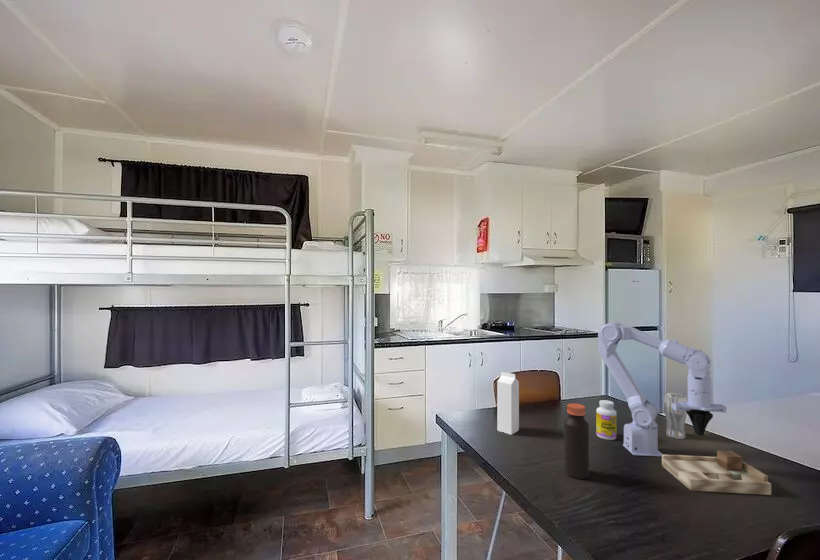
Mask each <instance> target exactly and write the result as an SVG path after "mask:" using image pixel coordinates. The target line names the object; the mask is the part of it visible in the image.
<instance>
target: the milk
mask: <svg viewBox="0 0 820 560" xmlns="http://www.w3.org/2000/svg"><path fill="white" fill-rule="evenodd" d="M496 386H497V387H496V388H497V389H496V390H497V393H496V394H497V397H496V398H497V399H496V400H497V403H496V404H497V407H496V408H497V410H496V411H497V413H496V414H497V415H496V416H497V420H496V421H497V422H496V425H497V427H496V430H497V431H498V432H500V433H503V432H504V434H507V435H510V436H512V435H513V434H514V435H515V434H516V433H517V432H518V431H519V430H520V406H519V405H520V390H519V389H520V381H519V380H518V379H517V378H516V374H515V373H512V372H511V373H510V372H505V371H501V372H500V377H499V378H498V379H497V385H496Z"/></svg>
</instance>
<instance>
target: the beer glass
mask: <svg viewBox="0 0 820 560" xmlns="http://www.w3.org/2000/svg"><path fill="white" fill-rule="evenodd" d="M663 399H664V400H663V407H664V408H663V409H664V415H665V420H666V429H665V435H666V436H668V437H669V438H673V439H677V440H684V439H686V437H687V436H686V431H685V426H686V425H685V424H686V420H687V415H688V414H687V412H686V411H684V410H679V411H675V410H674V409H672V403H681V402H688V399H687V395H684V394H682V393H678V392H677V393H676V392H665V393H664V397H663Z"/></svg>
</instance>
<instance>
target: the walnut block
mask: <svg viewBox="0 0 820 560" xmlns="http://www.w3.org/2000/svg"><path fill="white" fill-rule="evenodd" d="M716 457H717V464H718V465H720V466H721V467H723V468H724V469H726V470H727V471H742V461H743V457H742V456H741V455H739V454H737V453H735V452H734V451H732V450H716Z"/></svg>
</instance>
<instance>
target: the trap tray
mask: <svg viewBox="0 0 820 560" xmlns="http://www.w3.org/2000/svg"><path fill="white" fill-rule="evenodd" d="M661 466H662V467H663V468H664V469H665V470H667V471H668V472H669V473H670V474H671V475H672V476H673V477H674V478H675V479H677V481H679V482H680V483H681V484H683V485H684V486H685V487H686V488H687V489H688V490H690V491H694V492H695V491H696V492H711V493H728V494H729V493H730V494H732V493H733V494H744V495H745V494H748V495H763V496H764V495H765V496H766V495H767V496H772V482H769V476H768V475H767V474H765V473H763V472H762V471H760V470H758V469H757V468H756V467H754V466H753V465H751V464H749V463H747V462H745V461H744V460H742V471H727V470H726V469H724V468H723V467H721V466H720V465H718V464H717V456H705V455H684V454H683V455H682V454H664V453H662V457H661Z"/></svg>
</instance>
